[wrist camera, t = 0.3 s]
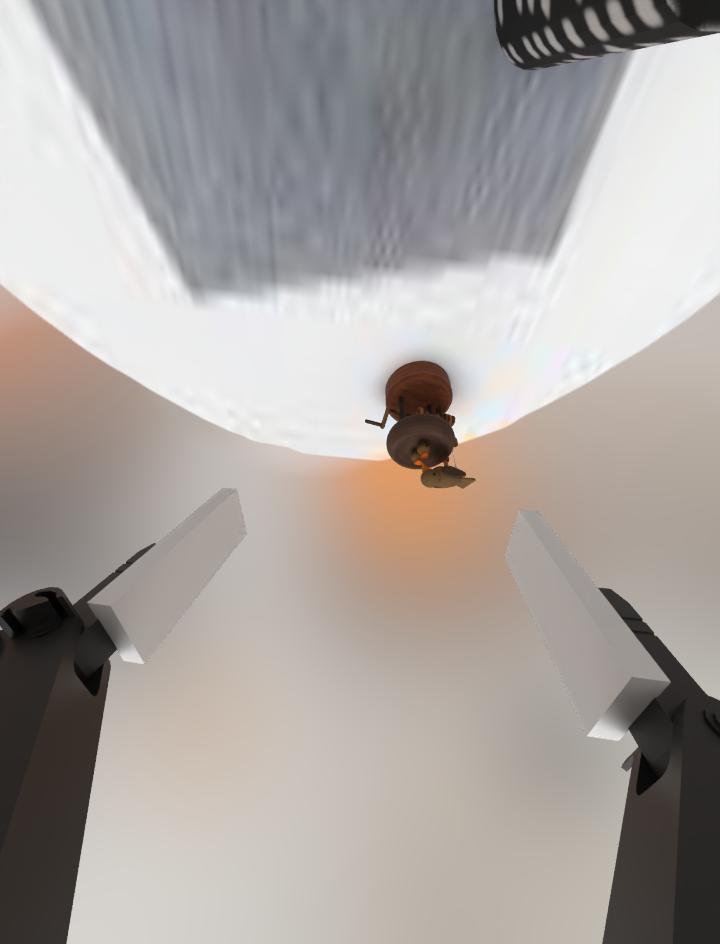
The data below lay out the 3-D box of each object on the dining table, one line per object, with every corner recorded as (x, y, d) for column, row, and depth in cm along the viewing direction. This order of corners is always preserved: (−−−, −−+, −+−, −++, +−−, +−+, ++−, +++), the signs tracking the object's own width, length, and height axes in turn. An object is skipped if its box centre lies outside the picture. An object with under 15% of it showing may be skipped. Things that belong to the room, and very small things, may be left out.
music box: (472, 365, 42) (500, 478, 32) (443, 414, 51) (458, 515, 41) (373, 349, 41) (369, 461, 30) (362, 403, 50) (356, 503, 40)
